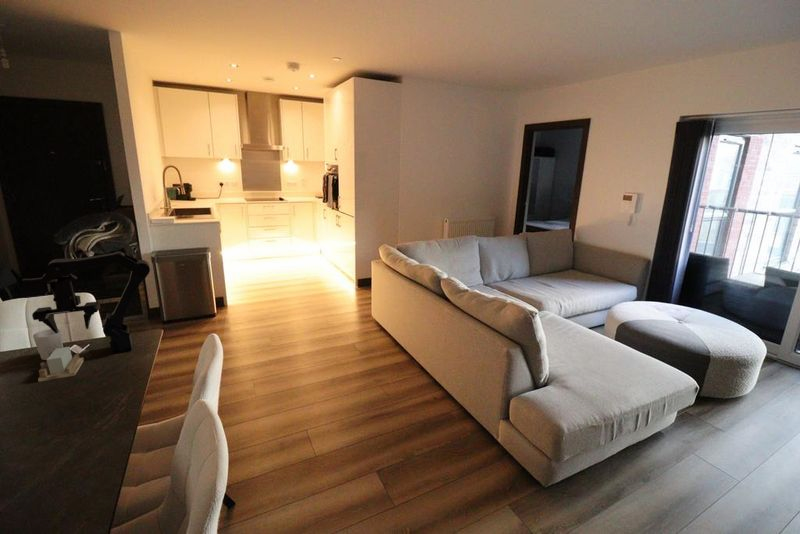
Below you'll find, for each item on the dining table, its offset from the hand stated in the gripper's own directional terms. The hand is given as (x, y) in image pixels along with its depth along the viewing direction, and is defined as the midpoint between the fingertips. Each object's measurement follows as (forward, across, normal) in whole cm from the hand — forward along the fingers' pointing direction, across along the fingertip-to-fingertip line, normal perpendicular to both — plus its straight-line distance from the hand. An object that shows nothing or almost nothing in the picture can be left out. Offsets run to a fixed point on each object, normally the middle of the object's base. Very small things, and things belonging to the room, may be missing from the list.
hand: (72, 330), depth 143 cm
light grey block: (+11, +3, +8) cm, 14 cm away
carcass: (+12, +3, +8) cm, 15 cm away
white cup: (+12, +10, -7) cm, 17 cm away
